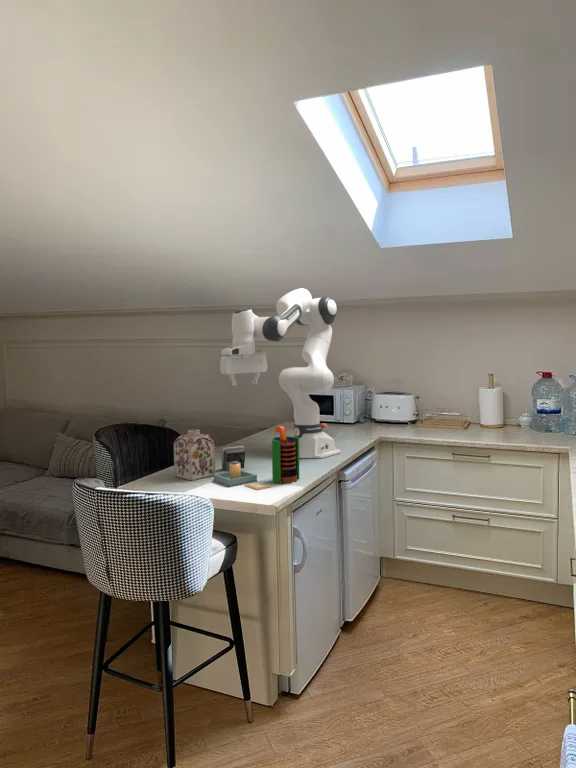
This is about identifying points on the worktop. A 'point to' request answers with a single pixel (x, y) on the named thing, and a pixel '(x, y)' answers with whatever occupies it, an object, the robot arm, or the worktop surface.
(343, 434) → the worktop surface
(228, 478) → the tray
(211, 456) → the decorative jar
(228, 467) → the grey block
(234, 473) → the orange part
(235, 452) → the electrical switch
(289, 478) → the motor
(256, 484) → the tag
